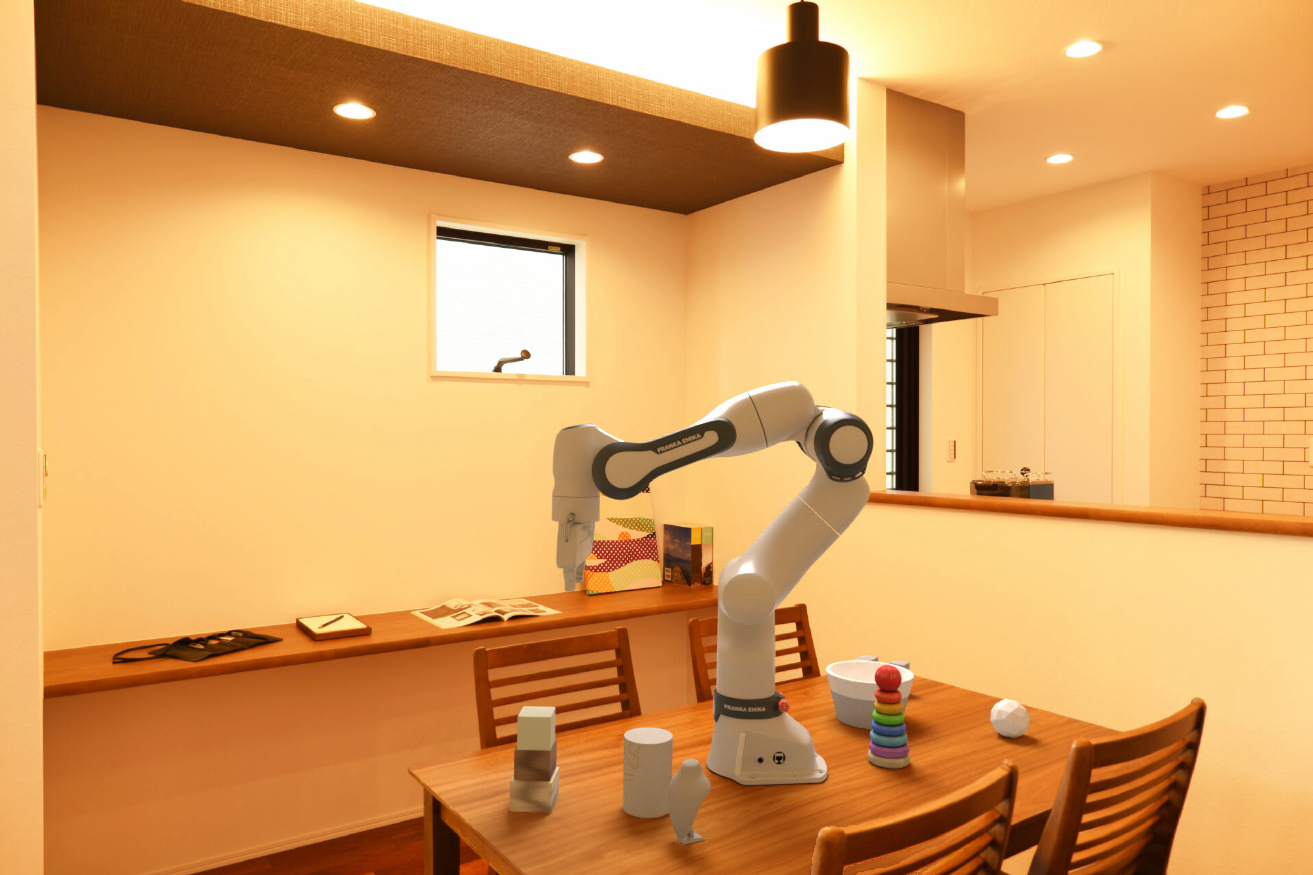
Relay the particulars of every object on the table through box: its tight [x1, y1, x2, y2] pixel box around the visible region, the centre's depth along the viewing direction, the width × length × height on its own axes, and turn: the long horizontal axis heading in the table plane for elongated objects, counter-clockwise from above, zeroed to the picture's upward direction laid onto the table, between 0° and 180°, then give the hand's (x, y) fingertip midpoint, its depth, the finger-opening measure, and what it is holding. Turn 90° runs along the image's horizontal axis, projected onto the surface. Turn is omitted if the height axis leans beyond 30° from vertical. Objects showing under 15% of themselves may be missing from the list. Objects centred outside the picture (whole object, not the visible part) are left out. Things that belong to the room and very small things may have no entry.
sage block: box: [516, 705, 556, 751], centre depth 144 cm, size 6×6×6 cm
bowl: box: [825, 660, 915, 730], centre depth 192 cm, size 19×19×11 cm
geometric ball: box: [990, 698, 1031, 739], centre depth 182 cm, size 8×8×8 cm
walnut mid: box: [513, 737, 558, 781], centre depth 145 cm, size 6×6×5 cm
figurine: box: [668, 758, 712, 845], centre depth 132 cm, size 8×5×12 cm
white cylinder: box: [622, 726, 674, 819], centre depth 143 cm, size 8×8×12 cm
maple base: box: [508, 766, 560, 814], centre depth 144 cm, size 7×7×5 cm
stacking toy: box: [867, 665, 911, 769], centre depth 166 cm, size 8×8×19 cm
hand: (574, 586), depth 158 cm, fingers open, 8 cm apart
